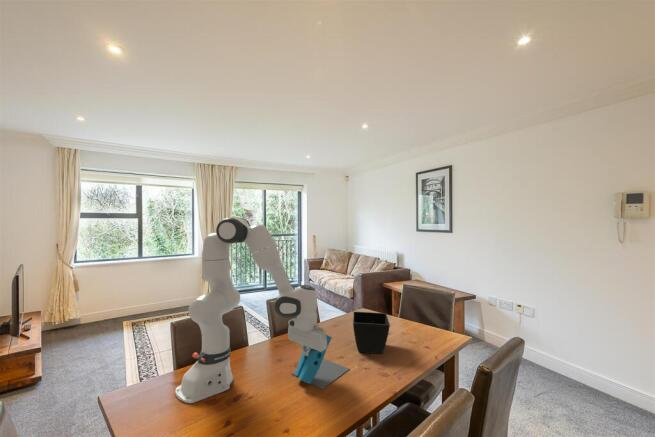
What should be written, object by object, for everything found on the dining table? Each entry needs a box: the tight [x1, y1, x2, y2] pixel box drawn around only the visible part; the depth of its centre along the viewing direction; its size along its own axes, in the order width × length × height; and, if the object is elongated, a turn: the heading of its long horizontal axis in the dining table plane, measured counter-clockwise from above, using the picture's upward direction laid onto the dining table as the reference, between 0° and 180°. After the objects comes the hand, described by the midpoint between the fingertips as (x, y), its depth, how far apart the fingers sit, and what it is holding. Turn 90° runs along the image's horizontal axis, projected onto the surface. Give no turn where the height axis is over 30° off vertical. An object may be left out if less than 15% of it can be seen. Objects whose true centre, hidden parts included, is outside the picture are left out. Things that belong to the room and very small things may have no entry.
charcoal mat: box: [291, 357, 351, 390], centre depth 131 cm, size 20×18×1 cm
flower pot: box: [352, 311, 391, 355], centre depth 157 cm, size 19×19×17 cm
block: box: [295, 334, 333, 385], centre depth 125 cm, size 12×5×20 cm
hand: (306, 355), depth 124 cm, fingers closed
